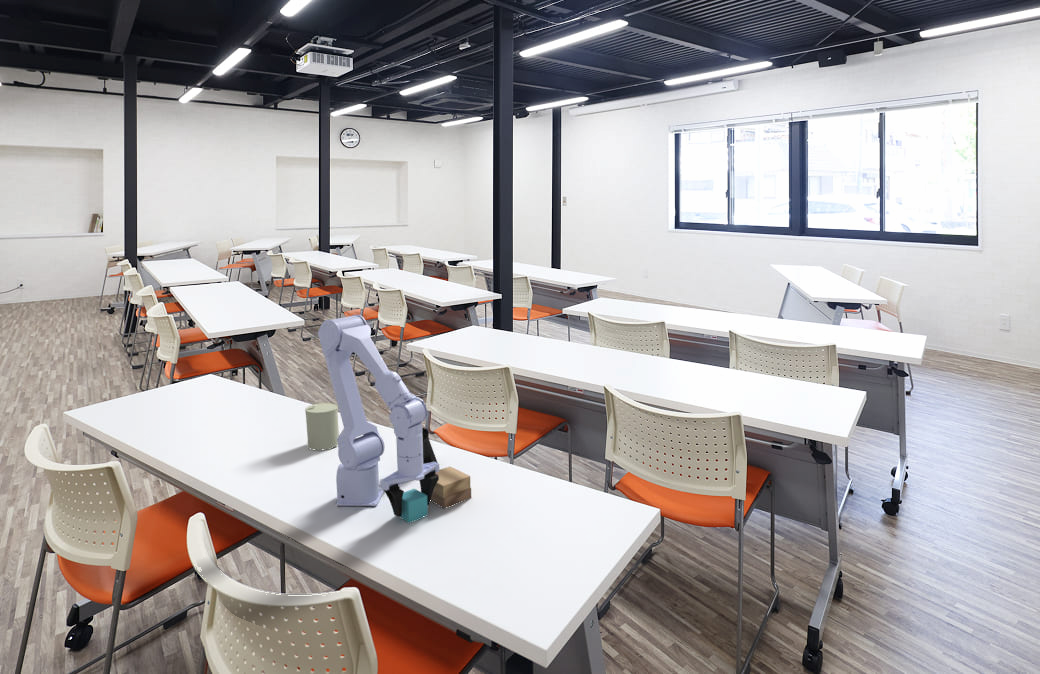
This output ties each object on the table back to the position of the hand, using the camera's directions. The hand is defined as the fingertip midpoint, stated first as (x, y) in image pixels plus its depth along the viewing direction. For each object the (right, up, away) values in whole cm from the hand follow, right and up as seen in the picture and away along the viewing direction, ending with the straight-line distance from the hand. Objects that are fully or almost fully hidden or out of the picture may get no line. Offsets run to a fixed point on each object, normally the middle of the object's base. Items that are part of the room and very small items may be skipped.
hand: (412, 509), depth 140 cm
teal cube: (0, -2, 0) cm, 2 cm away
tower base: (+7, 0, +9) cm, 12 cm away
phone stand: (-3, +3, +26) cm, 26 cm away
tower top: (+7, +3, +9) cm, 11 cm away
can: (-34, +7, +43) cm, 55 cm away
